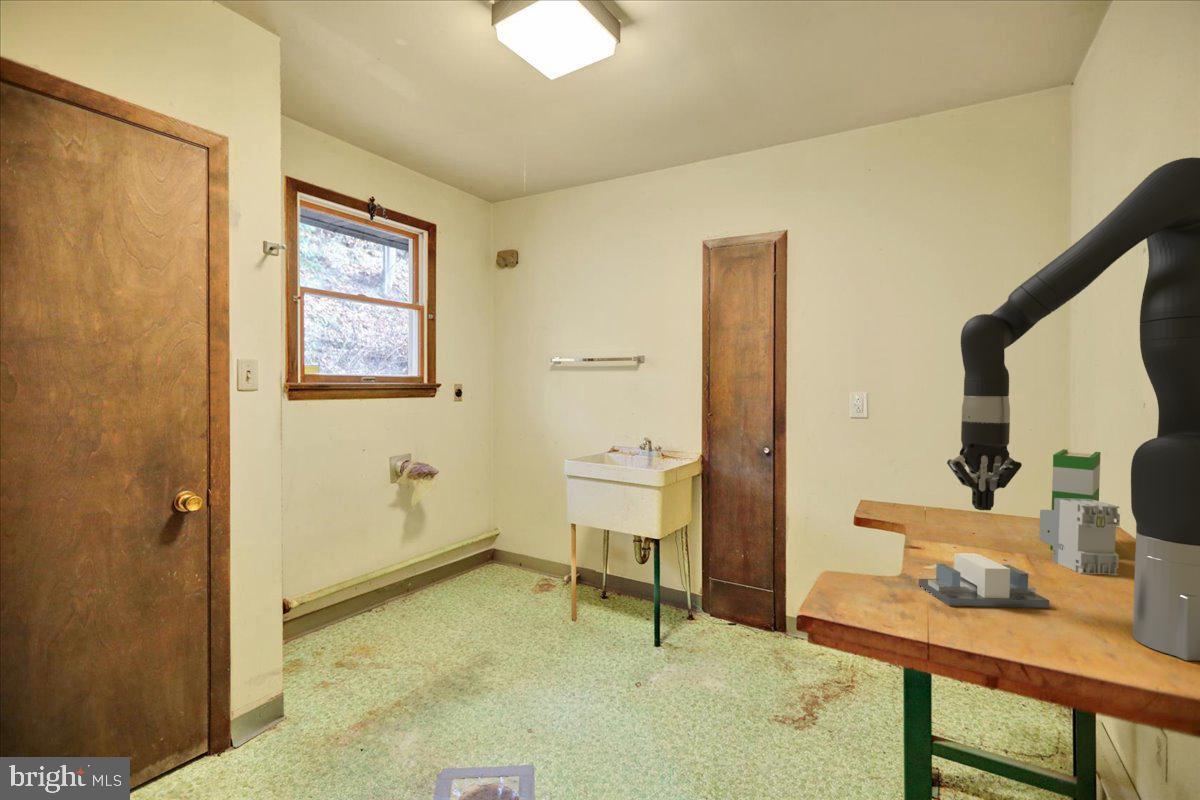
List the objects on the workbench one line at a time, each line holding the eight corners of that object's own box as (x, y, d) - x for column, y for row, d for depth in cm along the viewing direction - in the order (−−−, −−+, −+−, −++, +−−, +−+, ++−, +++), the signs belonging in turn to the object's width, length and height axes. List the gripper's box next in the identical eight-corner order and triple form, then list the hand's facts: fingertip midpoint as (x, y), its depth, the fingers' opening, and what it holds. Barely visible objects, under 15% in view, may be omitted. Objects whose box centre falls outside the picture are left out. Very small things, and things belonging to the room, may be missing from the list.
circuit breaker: (1066, 554, 129) (1068, 493, 129) (1117, 575, 115) (1120, 506, 115) (1033, 553, 130) (1035, 492, 130) (1080, 574, 116) (1082, 505, 115)
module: (1009, 598, 98) (1010, 568, 98) (984, 597, 98) (985, 568, 98) (976, 580, 107) (977, 553, 107) (953, 580, 107) (954, 553, 107)
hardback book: (1060, 536, 145) (1063, 449, 144) (1097, 542, 139) (1100, 452, 139) (1050, 550, 133) (1053, 454, 132) (1090, 557, 127) (1093, 457, 127)
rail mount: (1049, 608, 97) (1050, 578, 97) (949, 606, 98) (949, 576, 98) (1009, 587, 107) (1009, 560, 107) (918, 585, 108) (919, 559, 108)
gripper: (962, 420, 98) (959, 513, 99) (1036, 421, 98) (1033, 514, 98) (937, 418, 106) (935, 504, 106) (1006, 419, 105) (1004, 505, 106)
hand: (982, 509), depth 102 cm, fingers closed
